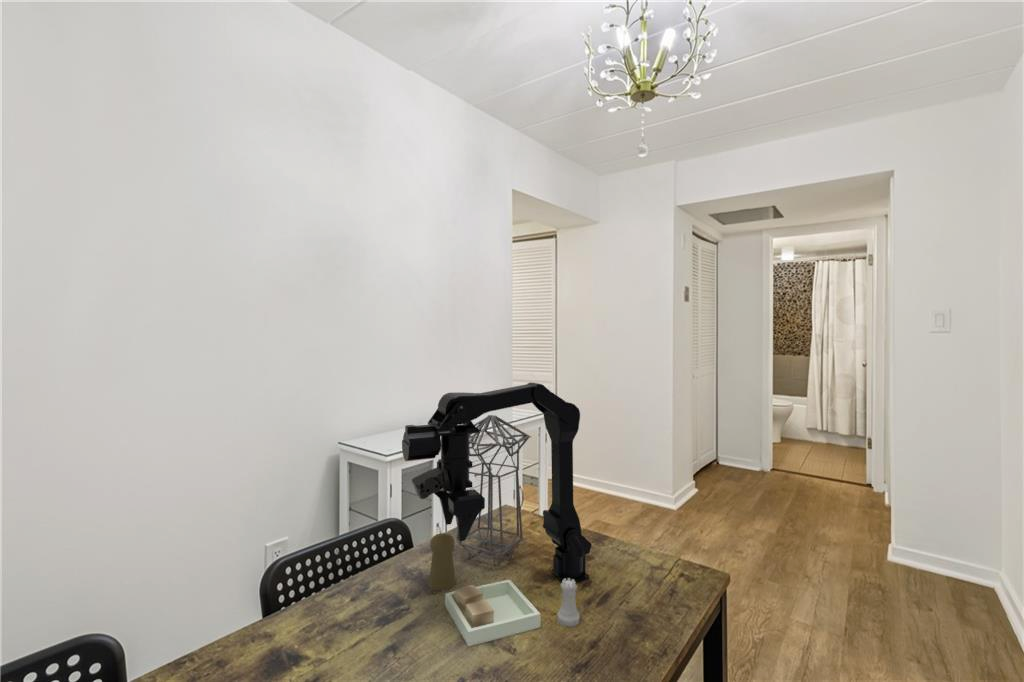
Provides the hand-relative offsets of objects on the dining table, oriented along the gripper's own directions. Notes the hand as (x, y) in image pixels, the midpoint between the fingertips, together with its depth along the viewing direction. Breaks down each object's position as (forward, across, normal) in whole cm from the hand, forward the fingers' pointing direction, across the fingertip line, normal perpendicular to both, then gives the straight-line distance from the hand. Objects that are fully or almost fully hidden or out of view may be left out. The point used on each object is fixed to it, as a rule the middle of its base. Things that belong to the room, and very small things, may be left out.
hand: (455, 532), depth 101 cm
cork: (+15, -8, -1) cm, 16 cm away
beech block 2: (+14, +11, +1) cm, 18 cm away
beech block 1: (+14, +5, +1) cm, 15 cm away
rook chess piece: (+15, +15, +18) cm, 28 cm away
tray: (+14, +8, +4) cm, 17 cm away
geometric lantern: (+15, -17, +14) cm, 26 cm away
